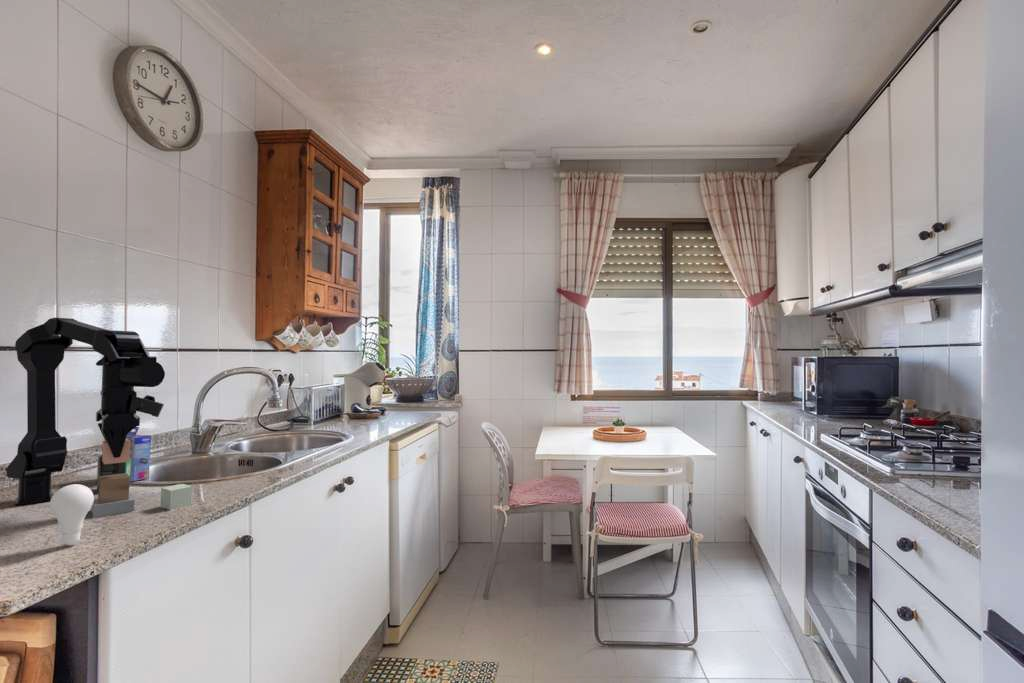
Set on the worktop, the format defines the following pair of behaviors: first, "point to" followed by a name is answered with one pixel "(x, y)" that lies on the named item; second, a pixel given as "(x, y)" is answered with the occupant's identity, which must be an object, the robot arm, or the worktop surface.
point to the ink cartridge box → (139, 455)
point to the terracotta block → (108, 456)
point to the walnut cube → (113, 488)
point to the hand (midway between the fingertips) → (115, 455)
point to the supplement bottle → (112, 469)
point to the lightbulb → (71, 510)
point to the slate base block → (112, 507)
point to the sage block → (176, 496)
